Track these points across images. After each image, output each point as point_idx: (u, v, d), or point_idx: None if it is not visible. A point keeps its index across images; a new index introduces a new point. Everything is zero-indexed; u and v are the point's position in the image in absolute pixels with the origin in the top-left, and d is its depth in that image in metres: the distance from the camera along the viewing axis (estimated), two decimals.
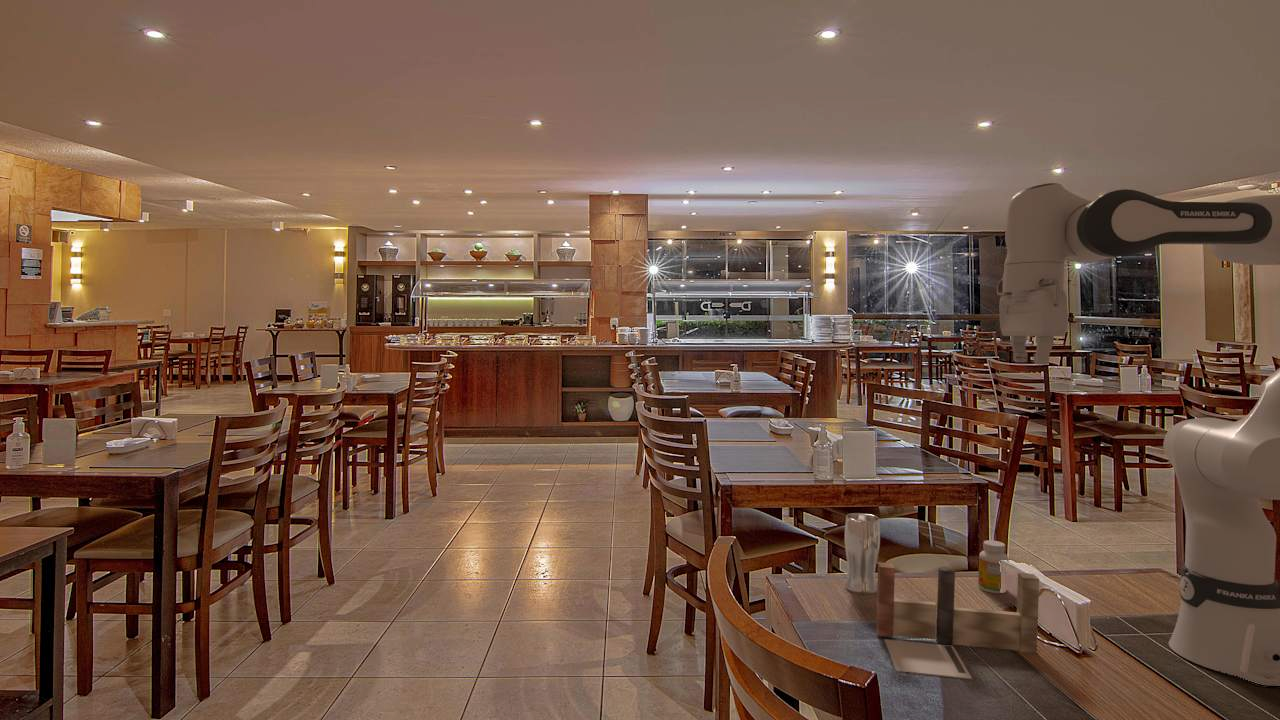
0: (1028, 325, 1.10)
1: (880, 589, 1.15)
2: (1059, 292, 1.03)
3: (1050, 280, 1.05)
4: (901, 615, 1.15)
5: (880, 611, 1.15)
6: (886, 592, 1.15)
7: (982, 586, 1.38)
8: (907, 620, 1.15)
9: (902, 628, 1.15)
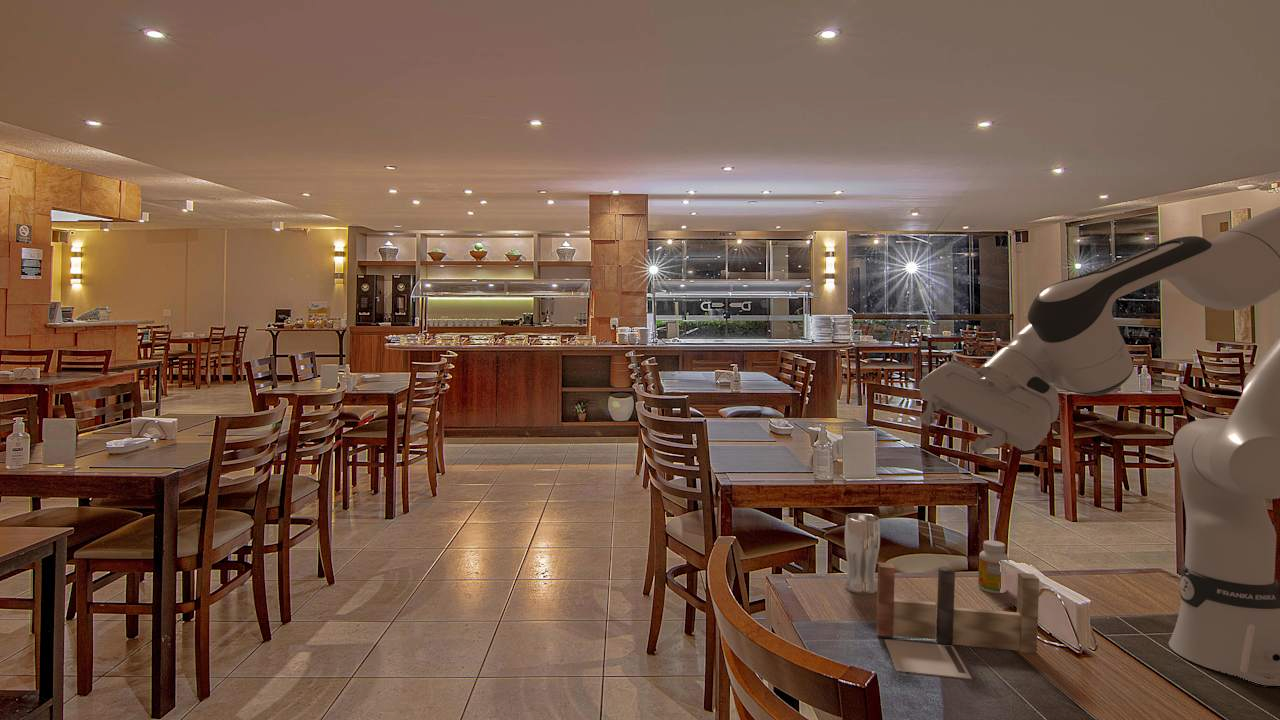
0: None
1: (880, 589, 1.15)
2: (942, 365, 1.16)
3: None
4: (901, 615, 1.15)
5: (880, 611, 1.15)
6: (886, 592, 1.15)
7: (982, 586, 1.38)
8: (907, 620, 1.15)
9: (902, 628, 1.15)
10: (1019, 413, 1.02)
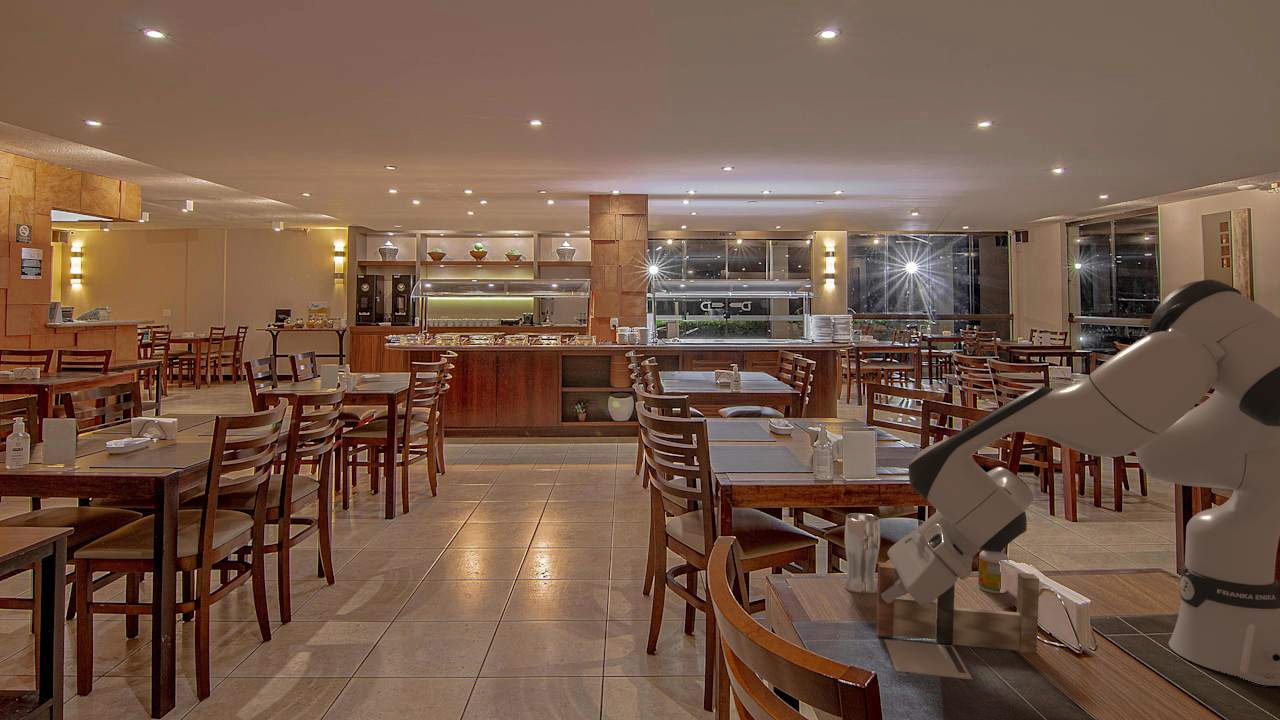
0: None
1: (880, 589, 1.15)
2: None
3: None
4: (901, 615, 1.15)
5: (880, 611, 1.15)
6: None
7: (982, 586, 1.38)
8: (907, 620, 1.15)
9: (902, 628, 1.15)
10: (918, 568, 1.09)
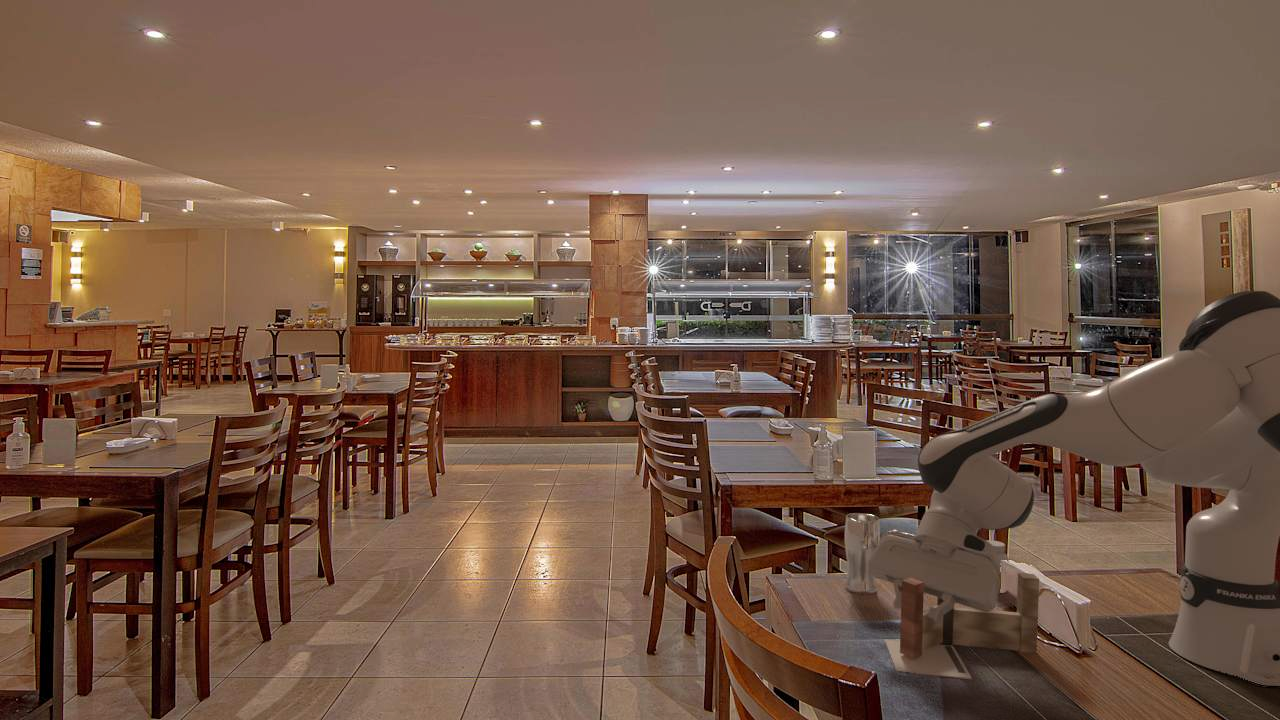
0: None
1: (914, 609, 1.07)
2: (880, 538, 1.20)
3: None
4: (924, 629, 1.10)
5: (914, 632, 1.07)
6: (918, 610, 1.08)
7: None
8: (927, 632, 1.11)
9: (924, 642, 1.10)
10: (969, 576, 1.06)
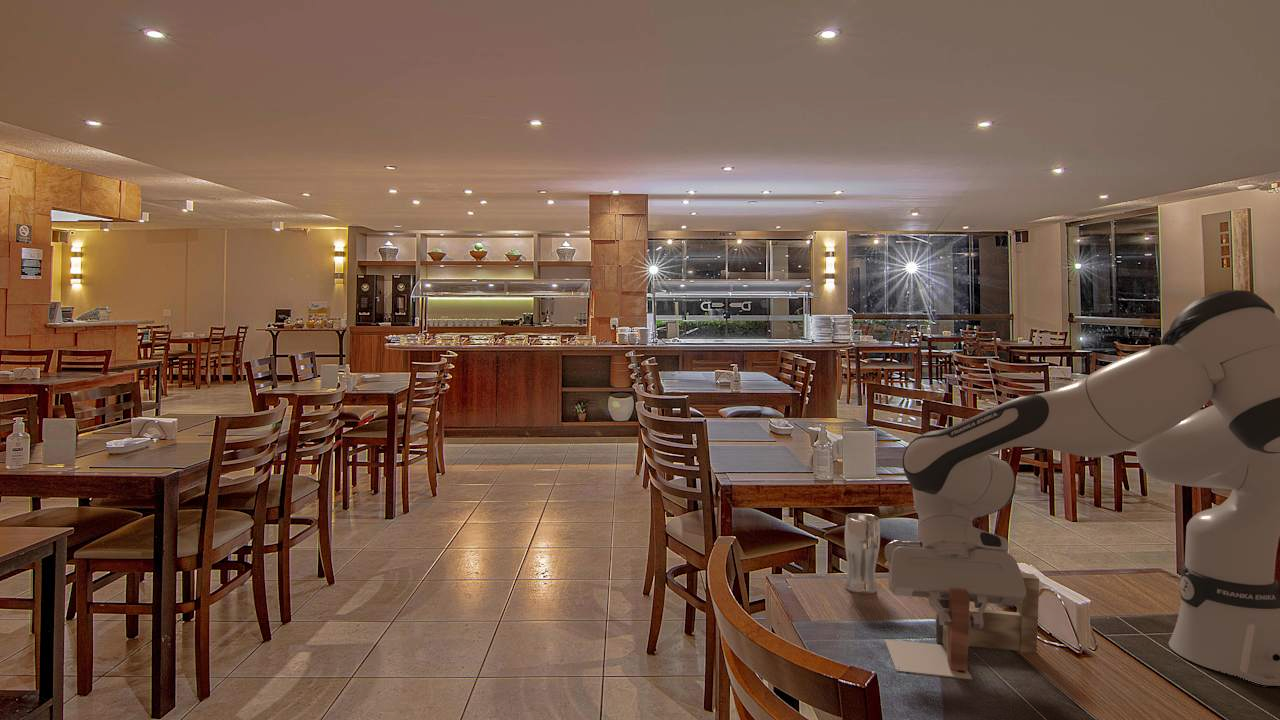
0: None
1: None
2: (885, 551, 1.14)
3: None
4: None
5: (967, 643, 1.04)
6: None
7: None
8: None
9: None
10: (997, 573, 1.07)
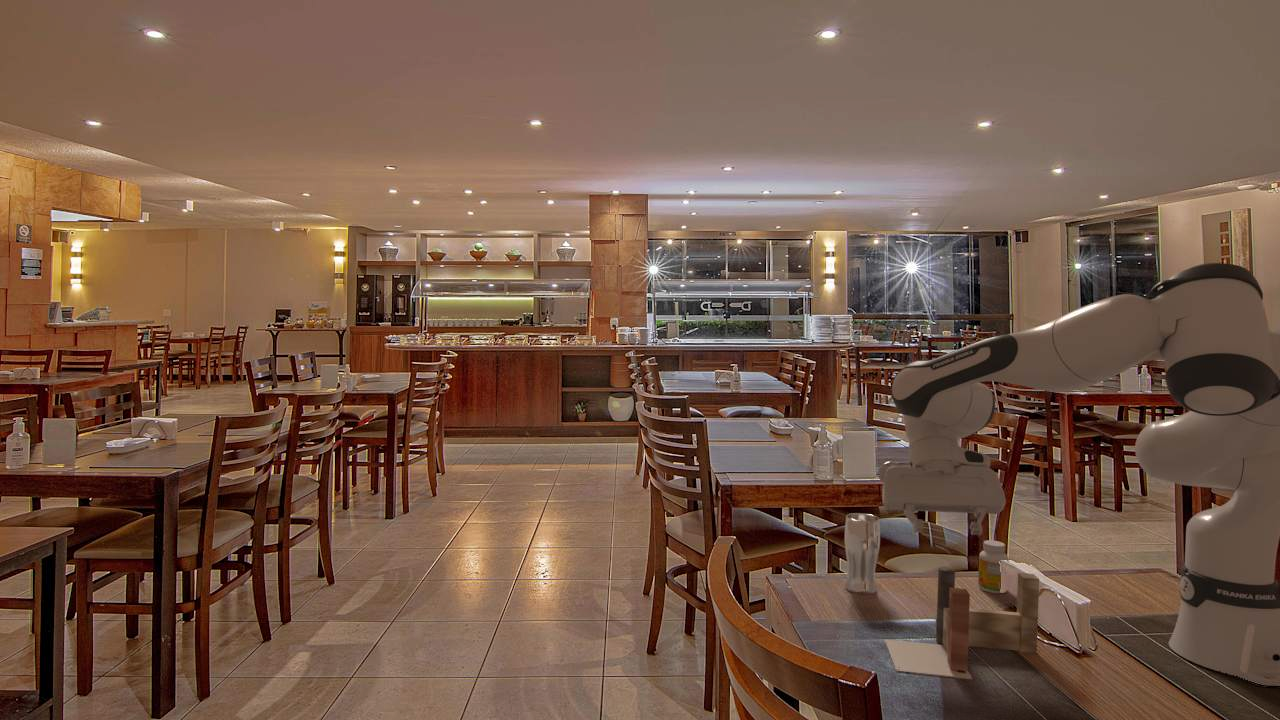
0: None
1: None
2: (879, 472, 1.25)
3: None
4: None
5: (967, 643, 1.04)
6: None
7: (982, 586, 1.38)
8: None
9: None
10: (980, 486, 1.19)
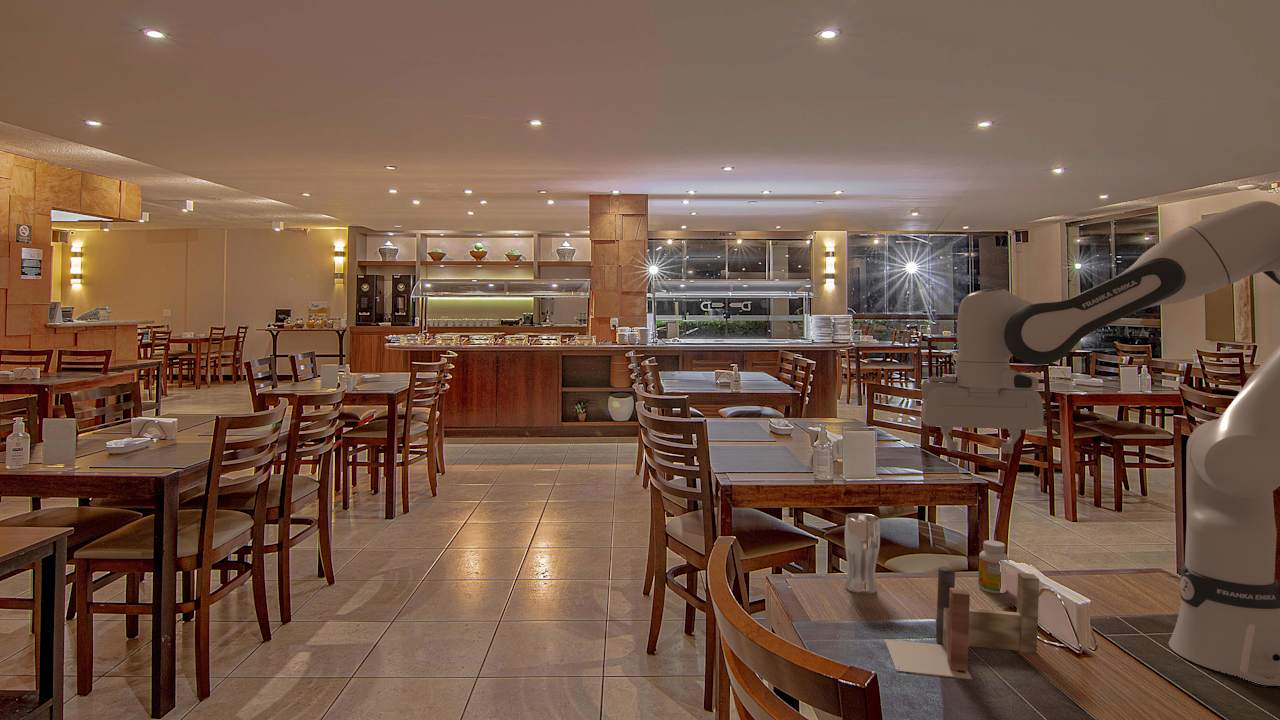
0: None
1: None
2: (922, 389, 1.25)
3: None
4: None
5: (967, 643, 1.04)
6: None
7: (982, 586, 1.38)
8: None
9: None
10: (1021, 409, 1.20)
